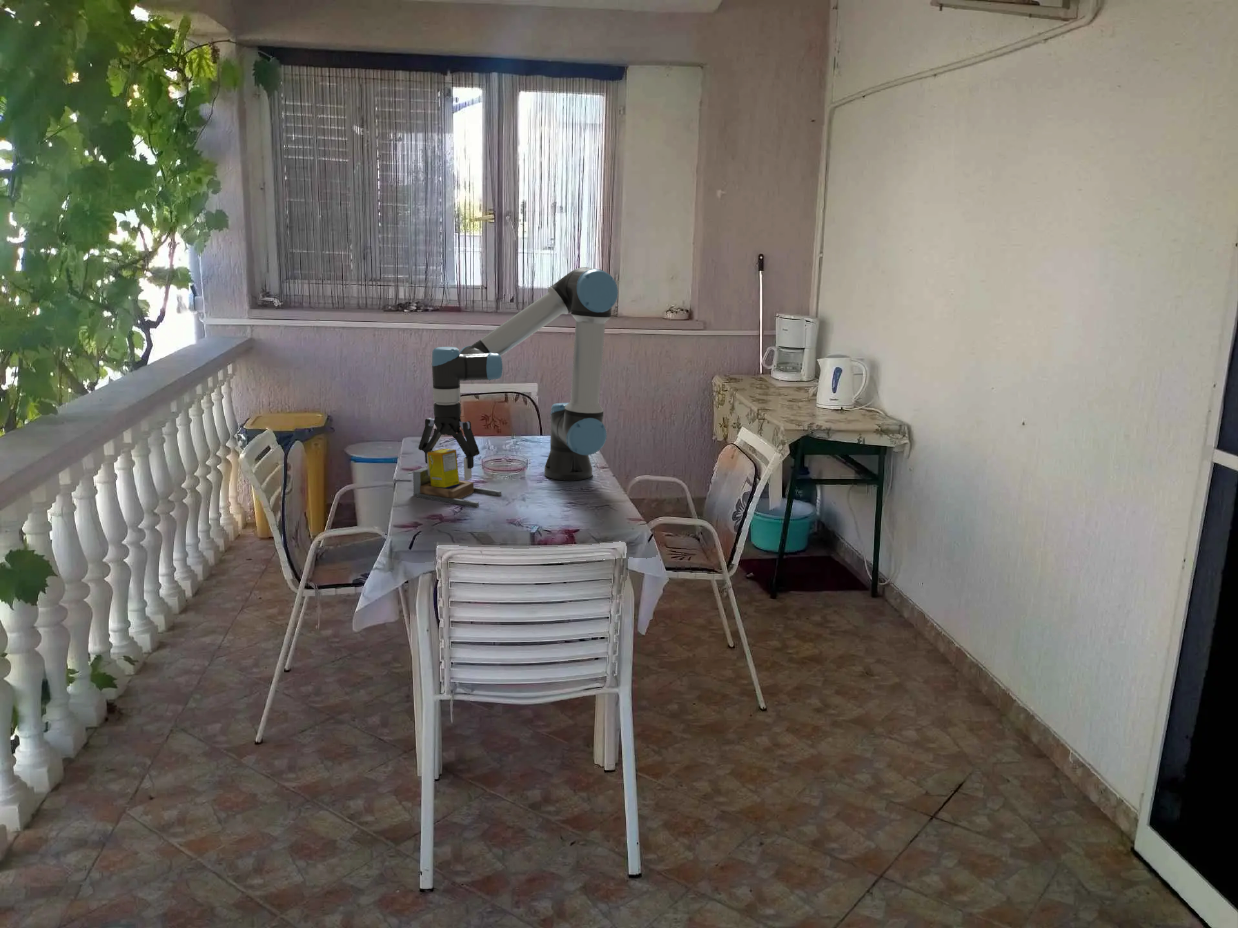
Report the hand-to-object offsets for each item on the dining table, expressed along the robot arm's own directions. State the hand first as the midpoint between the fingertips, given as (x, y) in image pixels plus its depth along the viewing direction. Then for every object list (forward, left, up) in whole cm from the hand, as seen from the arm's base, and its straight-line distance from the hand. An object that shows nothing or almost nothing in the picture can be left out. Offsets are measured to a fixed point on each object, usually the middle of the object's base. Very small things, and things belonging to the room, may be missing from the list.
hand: (449, 476), depth 267 cm
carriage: (+1, 0, -5) cm, 5 cm away
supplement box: (+1, 0, -4) cm, 4 cm away
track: (-2, 0, -5) cm, 6 cm away
